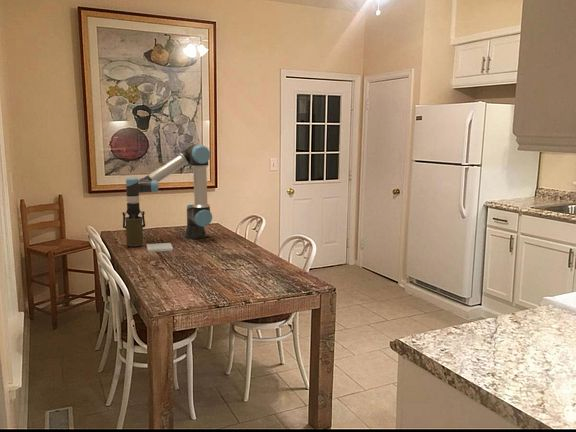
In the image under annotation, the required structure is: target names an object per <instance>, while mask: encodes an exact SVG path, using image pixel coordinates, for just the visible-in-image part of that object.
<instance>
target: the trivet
mask: <svg viewBox="0 0 576 432" xmlns="http://www.w3.org/2000/svg"><path fill="white" fill-rule="evenodd" d="M146 249H147V252H148V253H153V252H154V253H157V252H172V251H174V247H173V246H172V244H171V242H166V243H165V242H164V243H163V242H161V243H146Z"/></svg>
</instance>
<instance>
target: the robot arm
mask: <svg viewBox="0 0 576 432" xmlns="http://www.w3.org/2000/svg"><path fill="white" fill-rule="evenodd" d="M210 158H211V152H210V150H209V147H207V146H205V145H204V144H203V145H202V144H191V145H189V146H188V147H186V148H185V149H183V150H182V151H181V152H179V153H178V155H177V156H175V157H174V158H172V159H171V160H169V161H167V163H164V164H163V165H162V166H160V167H158V168H157V169H156V170H153V171H152V172H151V173H148V175H146V176H145V177H141V178H138V177H128V178H126V179H125V190H126V211H123V212H122V213H121V214H122V228H123V229H126V219H125V218H126V216H127V215H128V217H129V219H131V217H132V215H131V214H135V215H136V217H137V219H139V217H138V216H139V215H140V216H141V217H142V230H144V229H143V228H145V227H146V220H145V213H146V212H145V211H144V210H141V209H140V194H141V193H142V194H143V193H144V194H145V193H157V192H158V191H159V182H161V181H162V180H164V179H165V178H167V177H168V176H170V175H172V174H173V173H175V172H176V171H178V170H179V169H181V168H183V167H185V166H186V165H187V166H188V165H190V166H191V167H192V171H193V173H192V174H193V176H192V177H193V197H194V201H193V202H194V204H188V205H186V228H185V231H184V238H185V239H190V240H191V239H192V240H194V239H195V240H196V239H197V240H198V239H204V238H206V237H207V232H206V229H205V227H207V226H209V225H210V224H212V223H211V222H212V220H213V214H212V212H211V206H210V204H209V202H208V181H207V179H208V178H207V168H208V166H209V160H210Z"/></svg>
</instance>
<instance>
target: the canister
mask: <svg viewBox="0 0 576 432" xmlns="http://www.w3.org/2000/svg"><path fill="white" fill-rule="evenodd" d="M131 215H132V217H131V219H129V216H125V226H126V228H125V234H126V235H125V236H126V237H125V239H126V244H125V245H126V246H128V247H139V246H142V245H143V244H144V236H143V234H144V233H143V232H144V231H143V230H144V229H143V230H142V225H143V220H142V216H141V215H140V216H139V215H138V217H139V219H137V217H136V215H135V214H131Z"/></svg>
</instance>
